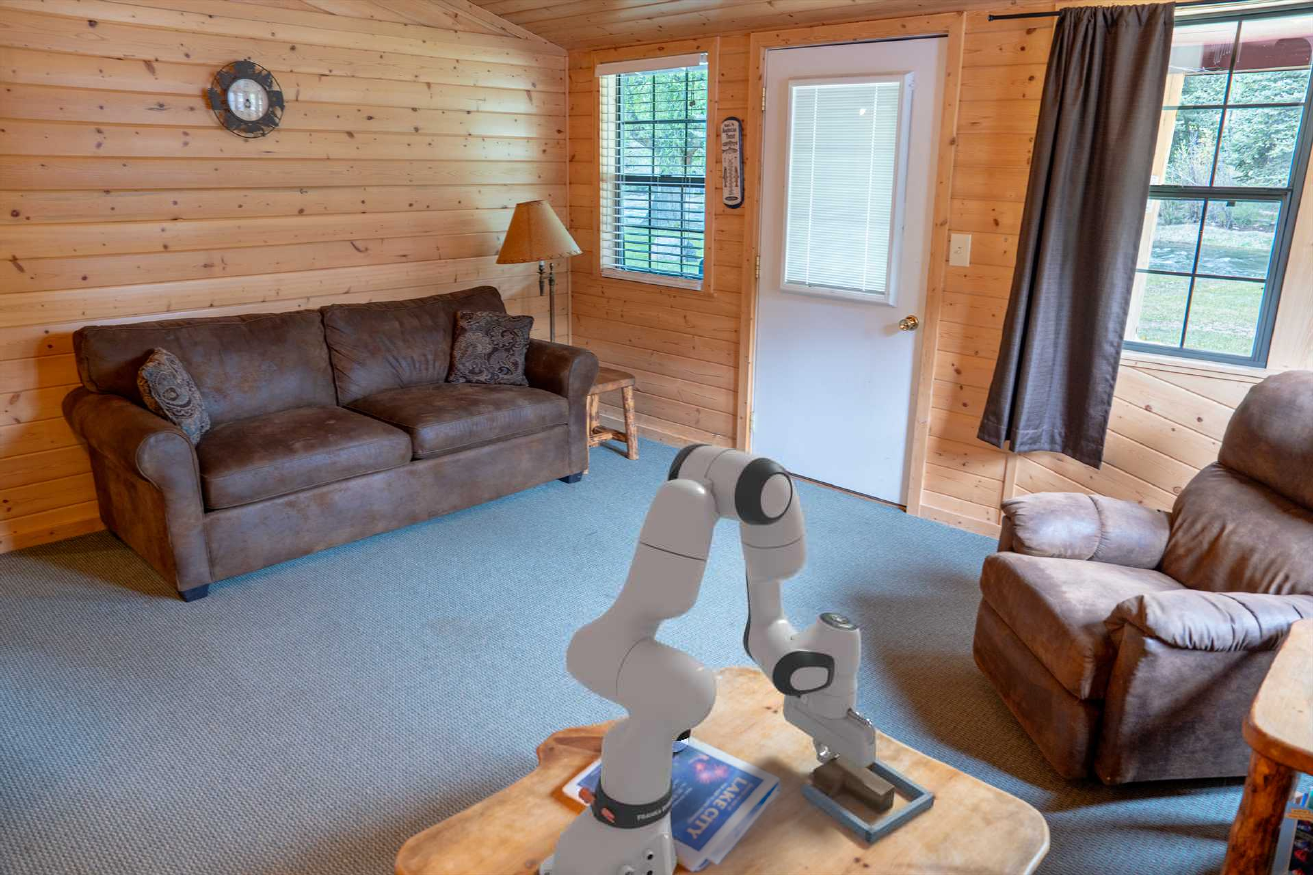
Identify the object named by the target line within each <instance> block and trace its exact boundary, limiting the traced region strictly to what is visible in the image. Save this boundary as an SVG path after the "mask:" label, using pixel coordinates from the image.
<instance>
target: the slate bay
mask: <svg viewBox="0 0 1313 875" xmlns="http://www.w3.org/2000/svg"><path fill="white" fill-rule="evenodd" d="M872 772H873V773H875V774H876V775H878V776H880V777H881V778H883V779H884V780H886V781H887V782H889V783H891V784H892V785H894V786H895V787H896V786H897V787H898V788H899V789H901V790H902V791H904V792H905V793H907V794H908V795H910V796H912V797H914V798H915V800H913V801H911V802H910V803H907V804H906V805H904V806H903V807H901V808H900V809H897V811H894V812H893V813H891V814H890V815H888V816H886V817H885V818H883V819H881V820H880V821H878V822H877V823H875V824H873V825H872V826H870V825H869V824H867V823H866V822H864V821H863V820H862V819H861V818H858V817H857V816H856V815H854V814H853V813H851V812H850V810H847V808H846V809H845V808H844V807H843V806H841V804H839V803H837V802H836V801H834V800H833V799H832V798H829V797H827V796H826V795H824V794H823V793H822V792H820V791H819V790H817V789H816V788H814V787H813V786H812V785H811V784H810V783H809V782H806V783H804V784H803V785H802V790H801V795H802V796H803V797H805V798H806V799H808V801H810V802H812V803H813V804H814V805H816V806H818V807H819V808H820V809H821V810H823V811H824V812H826V813H827V814H828V815H830V816H832V817H833V818H834V819H835V820H836V821H838V822H839V823H841V824H843V825H844V826H845V827H846V828H848V829H849V830H850V831H852V832H854V833H855V834H856V835H858V836H859V837H860V838H862V839H863V840H865V841H866V842H867V843H868V844H871V845H872V844H873V843H874V842H876V841H878V840H879V839H881V838H882V837H885V836H886V835H887V834H889V833H891V832H892V831H893V830H896V829H897V828H898V827H900V826H901V825H903V824H905V823H906V822H908V821H909V820H912V818H914V817H916V816H917V815H920V813H922V812H924V811H925V810H927V809H929V808H930V807H931V806H933V805H934V804H935V797H936V794H935V793H932V792H931V791H929V790H928V789H926V788H925V787H923V786H922V785H920V784H918V783H917V782H915V781H914V780H912V779H910V778H909V777H907V776H906V775H904V774H903V773H901V772H899V771H898V770H896V769H894V768H893V767H891V766H890V765H888V764H887V763H885V762H883V761H882V760H880V759H879V758H877V757H876V759H875V761H874V762H873V765H872Z"/></svg>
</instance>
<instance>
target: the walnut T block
mask: <svg viewBox="0 0 1313 875" xmlns="http://www.w3.org/2000/svg"><path fill="white" fill-rule="evenodd" d="M872 765H873V763H872V764H871V765H869V766H867V767H865V768H862V769H860V768H858V767H856V766H855V765H853V764H852V763H850V762H849V761H847V760H846V759H844V758H843V757H841V756H840V755H837V756H836V757H835V758H833V759H832V760H830V761H828V762H826V763H824V764H823V763H822V764H821V765H819V766H817V767H815V768H813V775H812V786H813V787H814V788H816V789H817V790H819V791H820V792H822V793H823V794H824V795H826V796H827V797H829V798H830V799H832V798H834V797H835V796H837V795H839V794H841V793H843V792H844V793H846V794H847V795H849V796H850V797H852V798H853V799H855V800H856V801H857V802H859V803H861V804H862V805H864V806H865V807H867V808H868V809H870V810H871V811H872V812H874V813H876V814H878V815H880V814H882V813H883V812H885V811H888V810H889V809H890V808H892V807H893V806H894V800H895V792H896V785H895V784H893V783H891V782H890V781H888V780H887V779H885V778H884V777H882V776H880V775H879V774H877V773H876V772H874V771H873V770H872Z"/></svg>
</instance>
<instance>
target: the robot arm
mask: <svg viewBox="0 0 1313 875" xmlns="http://www.w3.org/2000/svg"><path fill="white" fill-rule="evenodd" d="M721 518H722V519H726V520H731V521H736V522H738V527H739V529H738V530H739V535H740V542H741V548H742V553H743V554H742V555H743V560H744V563H745V564H744V565H745V582H746V583H745V584H746V594H747V595H746V596H747V607H748V609H747V610H748V611H747V613H748V614H747V620H746V624H745V628H744V633H743V637H742V645H743V648H744V652H745V653H746V655H747V656H748V657H749V658H750V659H751V660H752V661H753V662H754V663H755V664H756V665H757V667H758V668H759V669H760V671H762V673H763V675H765V676H766V678H767V679H768V680H769V681H770V683H771V684H772V685H773V686H774V688H775V689H776V690H777V691H778V692H779V693H781V694H783V695H784V698H783V699H784V700H783V706H782V714H783V717H784V719H785V721H787V723H789V724H790V725H792V726H793V727H795V728H796V729H798V730H800V731H801V732H803V733H804V734H806V735H807V736H809V737H810V738H812V743H813V746H814V749H815V752H816V758H815V759H816V761H818V762H820V763H822V764H824V763H826V762H828V761H830V760H832V759H833V758H835V757H837V756H839V755H840V756H841V757H843V758H844V759H846V760H847V761H849V762H850V763H852V764H853V765H855V766H856V767H858V768H860V769H862V768H865V767H867V766H869V765H871V764H872V763H873V762H874V761H875V759H876V758H877V739H876V738H877V737H876V736H877V729H876V728H875V727H874V725H873V724H872V722H871V721H872V720H870V719H869V718H868V717H866V716H863V715H862V714H860V713H859V712H857V711H856V702H857V695H858V694H857V693H858V681H857V680H858V679H857V673H858V671H859V669H860V665H861V655H862V654H861V652H862V651H861V650H862V641H861V640H862V638H861V631H860V627H859V626H858V625H857V624H856V623H855V622H854V621H853V620H851V619H850V618H849V617H847V616H845V615H842V614H840V613H836V612H823V613H820V614H819V615H818V616H817V618H816V620H815V621H814V622H813V623H811V624H810V626H808V627H807V628H806V629H804V630H802V631H799V632H798V630H797V629H796V628H795V627H794V626H793V624H792V623H791V621H790V620H789V618H788V617H787V616H786V614H785V612H784V610H783V593H782V582H784V581H787V580H790V579H791V578H794V577H795V576H796V575H798V574H799V573H800V572H801V571H802V570H803V568H804V567H805V565H806V563H807V556H808V555H807V554H808V541H807V534H806V525H805V517H804V513H803V509H802V505H801V502H800V498H799V494H798V491H797V489H796V486H795V483H794V482H793V480H792V478H791V476H790V474H789V472H788V471H787V469H786V468H785V467H784V466H783V465H782V464H779V463H778V462H776V461H775V460H772V459H770V458H768V457H760V456H757V455H755V454H753V453H749V452H745V451H743V450H740V449H737V448H733V447H727V446H721V445H720V446H719V445H713V444H709V443H694V444H689V445H686V446H685V447H683V448H682V449H681V450H679V451H678V453H677V454H676V455H675V457H674V459H673V460H672V462H671V465H670V467H669V471H668V475H667V480H666V482H664V483H662V484H661V486H660V487H659V488H658V490H657V492H656V494H655V495H654V498H653V500H652V503H651V504H650V506H649V509H648V510H647V512H646V516H645V519H644V522H643V525H642V528H641V529H640V534H639V536H638V537H639V538H638V540H637V544H636V548H635V551H634V554H633V558H632V561H631V565H630V567H629V571H628V573H627V576H626V579H625V582H624V585H623V587H622V590H621V592H620V593H619V595H618V597H617V598H616V599H615V601H614V603H612V605H611V606H610V607H609V608H608V610H606V611H605V613H603V614H602V615H601V616H600V617H598V618H596V619H594V620H592V621H590V622H587V623H586V624H584V625H582V626H581V627H580V628H578V630H576V632H575V633H574V634H573V635H572V637H571V639H570V640H569V643H568V646H567V648H566V649H567V650H566V657H565V659H566V660H565V663H566V668H567V671H568V673H569V675H570V677H572V678H573V679H575V680H576V681H577V682H578V683H579V684H581V685H582V686H583V687H584V688H585V689H587V690H588V691H589V692H591V693H593V694H594V695H597V696H600V697H602V698H604V699H606V700H608V701H610V702H612V703H614V704H616V705H618V706H620V707H622V708H624V709H625V710H626V712H627V714H628V718H624V719H621V720H619V721H617V722H615V723H614V724H613V725H611V726H610V728H608V730H607V731H606V733H605V735H604V737H603V739H602V742H601V751H600V752H601V757H600V760H601V761H600V776H599V778H598V781H597V782H596V786H595V788H594V790H593V791H591V789H590V788H589V787H588V786H586V785H585V786H582V787H581V788H580V789H579V791H578V794H577V795H578V798H579V799H580V800H582V801H583V802H584V803H585V804H586V805H587V806H586V807H585V808H584V809H583V811H581V813H580V814H579V815H578V816H577V817H576V818H575V819H574V820H573V821H572V822H571V823H570V824H569V826H567V827H566V828H565V830H563V832H561V834H560V835H559V836H558V838H557V841H556V845H555V849H554V852H553V853H552V854H550V855H549V856H547V857H546V858H545V859H544V860H542V861H541V862H539V871H538V873H539V875H673V874H674V871H675V870H676V867H677V863H678V856H677V857H676V852H677V850H675V849H676V847H675V843H674V838H673V830H672V823H671V810H672V806H673V798H674V797H673V796H674V795H673V794H674V792H673V790H674V786H673V785H674V783H673V779H672V776H671V775H672V765H673V764H672V763H673V754H674V753H673V748H674V744H675V741H676V739H677V738H678V736H679V735H680V734H681V733H682V732H684V731H686V730H689V729H691V730H692V729H694V728H696V727H698V726H699V725H700V724H702V723H703V722H704V721H705V720H706V719H707V717H708V716H709V715H710V714H711V712H712V710H713V708H714V706H715V703H716V698H717V683H716V676H715V675H714V672H713V671H712V669H710V668H709V667H708V666H707V665H705V664H704V663H702V662H701V661H700V660H698V659H697V658H695V657H694V656H692V655H691V654H690V653H688V652H685V651H683V650H680V649H678V648H675V647H672V646H670V645H668V644H666V643H663V642H660V641H658V640H656V639H655V637H656V634H657V632H658V631H659V629H660V626H661V625H662V624H663V623H664V621H665V620H671V619H675V618H678V617H682V616H685V615H686V614H687V613H688V612H690V611H691V610H692V609H693V608H694V606H695V604H696V603H697V601H698V596H699V593H700V592H699V591H700V589H701V585H702V580H703V579H704V575H705V574H704V573H705V570H706V566H707V562H708V559H709V555H710V551H711V546H712V541H713V536H714V530H715V529H714V528H715V526H716V524H717V523H718V521H719V520H721ZM826 748H827V749H826Z"/></svg>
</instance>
